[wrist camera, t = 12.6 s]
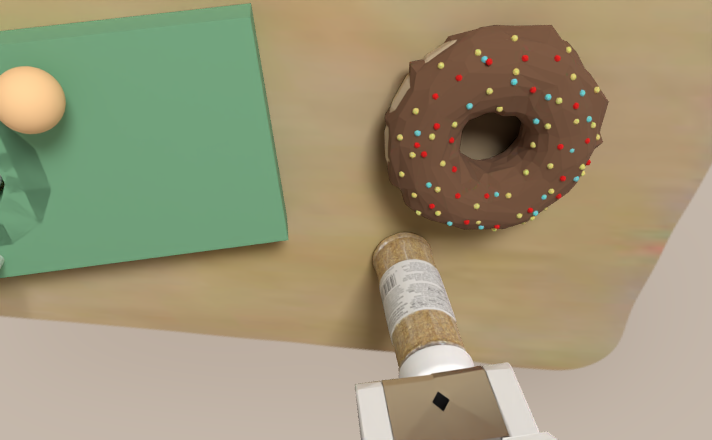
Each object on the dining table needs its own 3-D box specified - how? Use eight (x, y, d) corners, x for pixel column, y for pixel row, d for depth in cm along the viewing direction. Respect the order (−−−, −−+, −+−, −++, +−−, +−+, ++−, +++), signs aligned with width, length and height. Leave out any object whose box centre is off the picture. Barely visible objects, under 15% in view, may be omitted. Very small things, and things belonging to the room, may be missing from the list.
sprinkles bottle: (406, 285, 50) (446, 429, 39) (359, 262, 48) (388, 406, 37) (443, 245, 48) (497, 384, 37) (396, 219, 46) (438, 357, 35)
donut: (515, 223, 48) (538, 265, 44) (347, 172, 43) (356, 214, 39) (628, 49, 41) (669, 80, 37) (441, -31, 36) (464, -7, 32)
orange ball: (-7, 60, 34) (-32, 86, 31) (60, 52, 34) (41, 77, 31) (18, 120, 36) (-4, 149, 33) (81, 112, 36) (65, 141, 33)
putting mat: (-189, 52, 35) (-409, 186, 23) (250, 3, 36) (245, 108, 25) (-53, 283, 44) (-161, 458, 33) (290, 238, 46) (299, 391, 34)
